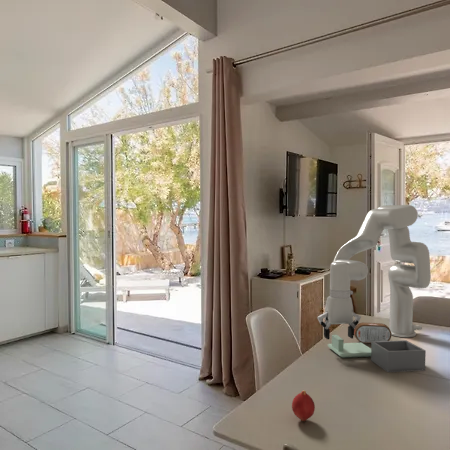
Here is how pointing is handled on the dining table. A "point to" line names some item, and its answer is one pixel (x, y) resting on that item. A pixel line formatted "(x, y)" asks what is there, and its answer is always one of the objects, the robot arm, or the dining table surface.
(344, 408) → the dining table surface
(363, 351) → the lid
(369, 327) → the tin
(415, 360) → the tub
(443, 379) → the dining table surface
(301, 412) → the onion
